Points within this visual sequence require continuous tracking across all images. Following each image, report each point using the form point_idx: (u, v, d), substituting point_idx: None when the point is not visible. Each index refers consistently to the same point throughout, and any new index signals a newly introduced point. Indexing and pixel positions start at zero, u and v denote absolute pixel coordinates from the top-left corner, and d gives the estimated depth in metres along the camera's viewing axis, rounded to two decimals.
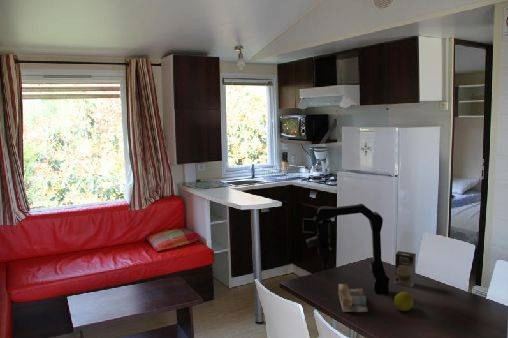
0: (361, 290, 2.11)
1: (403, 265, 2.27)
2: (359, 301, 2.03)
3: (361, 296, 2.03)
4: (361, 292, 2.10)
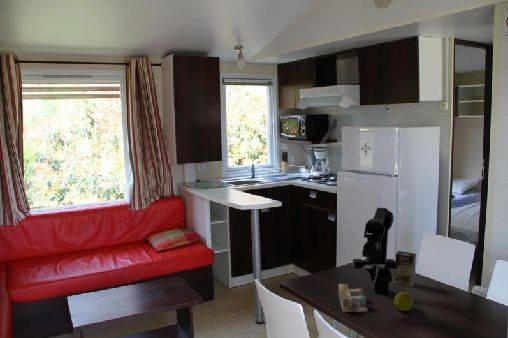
0: (361, 290, 2.11)
1: (403, 265, 2.27)
2: (359, 301, 2.03)
3: (361, 296, 2.03)
4: (361, 292, 2.10)
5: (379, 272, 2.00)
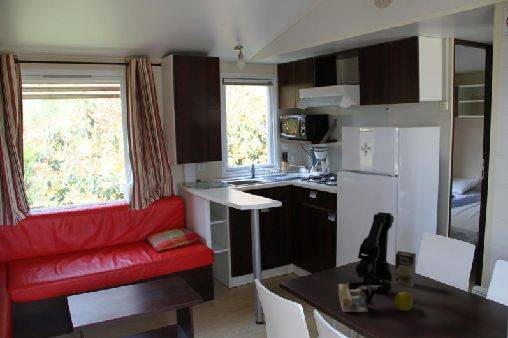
0: (361, 290, 2.11)
1: (403, 265, 2.27)
2: (358, 301, 2.03)
3: (360, 296, 2.03)
4: (361, 292, 2.10)
5: (372, 293, 2.01)
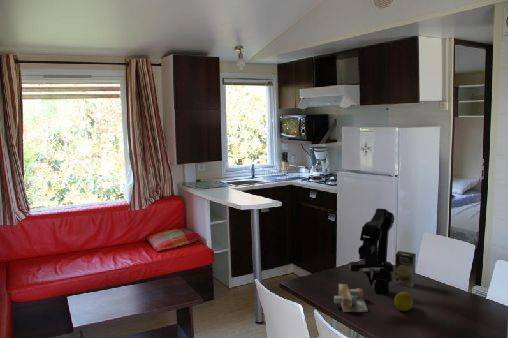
0: (361, 290, 2.11)
1: (403, 265, 2.27)
2: None
3: (352, 296, 2.04)
4: (361, 292, 2.10)
5: (374, 275, 2.00)
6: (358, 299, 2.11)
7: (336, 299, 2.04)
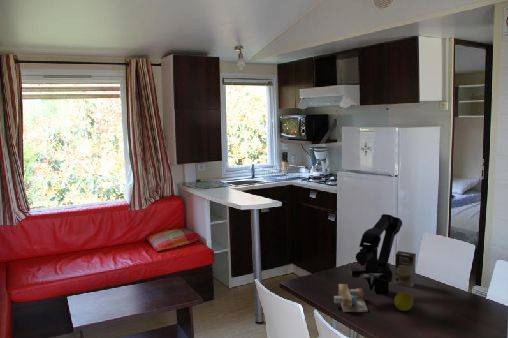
0: (361, 290, 2.11)
1: (403, 265, 2.27)
2: None
3: (352, 296, 2.04)
4: (361, 292, 2.10)
5: (374, 281, 2.08)
6: (358, 299, 2.11)
7: (336, 299, 2.04)
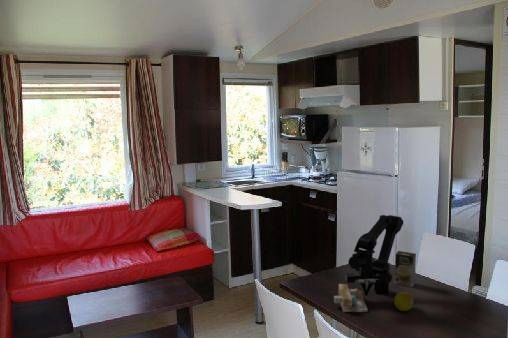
0: (360, 290, 2.11)
1: (403, 265, 2.27)
2: None
3: (352, 296, 2.04)
4: (360, 292, 2.10)
5: (369, 286, 2.09)
6: (358, 299, 2.11)
7: (336, 299, 2.04)
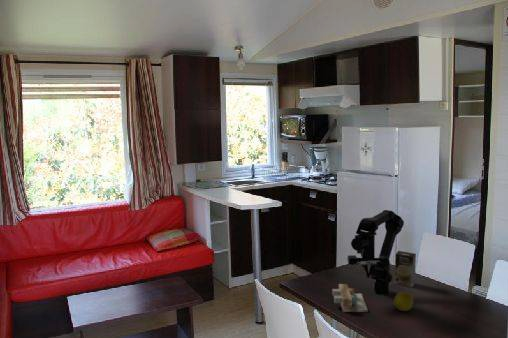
0: (352, 290, 2.11)
1: (403, 265, 2.27)
2: None
3: (352, 296, 2.04)
4: (352, 292, 2.10)
5: (371, 268, 2.08)
6: (358, 299, 2.11)
7: (336, 299, 2.04)
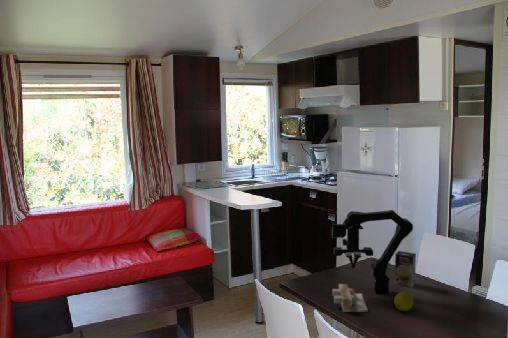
0: (352, 290, 2.11)
1: (403, 265, 2.27)
2: None
3: (352, 296, 2.04)
4: (352, 292, 2.10)
5: (356, 259, 2.18)
6: (358, 299, 2.11)
7: (336, 299, 2.04)
